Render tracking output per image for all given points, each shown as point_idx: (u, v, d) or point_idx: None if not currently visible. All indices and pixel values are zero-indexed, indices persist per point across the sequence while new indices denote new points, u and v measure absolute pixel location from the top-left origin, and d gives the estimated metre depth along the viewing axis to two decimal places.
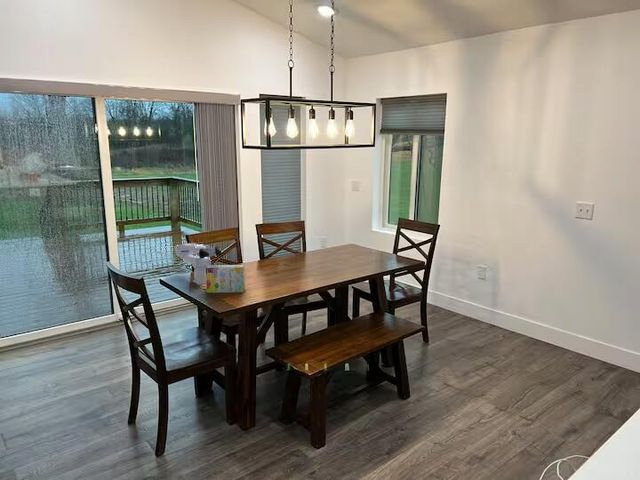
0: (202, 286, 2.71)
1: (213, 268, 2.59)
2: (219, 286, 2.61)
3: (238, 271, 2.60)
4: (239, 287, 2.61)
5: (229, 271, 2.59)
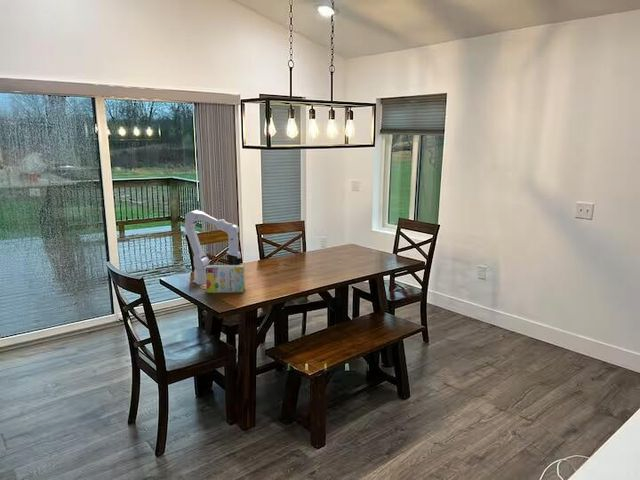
0: (202, 286, 2.71)
1: (213, 268, 2.59)
2: (219, 286, 2.61)
3: (238, 271, 2.60)
4: (239, 287, 2.61)
5: (229, 271, 2.59)
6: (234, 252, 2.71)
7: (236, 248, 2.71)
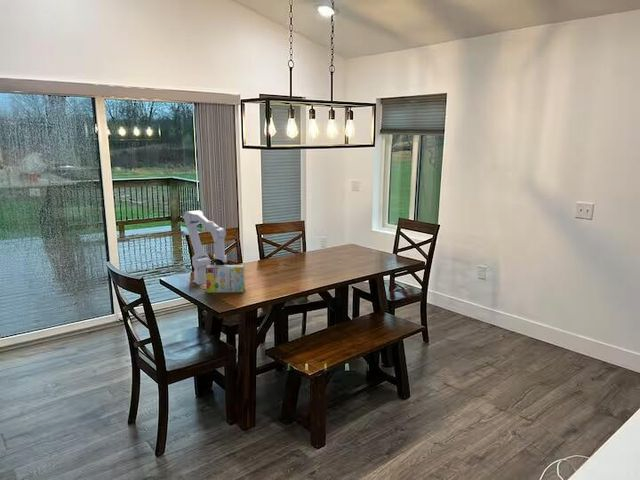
0: (202, 286, 2.71)
1: (213, 268, 2.59)
2: (219, 286, 2.61)
3: (238, 271, 2.60)
4: (239, 287, 2.61)
5: (229, 271, 2.59)
6: (220, 256, 2.63)
7: (222, 252, 2.63)
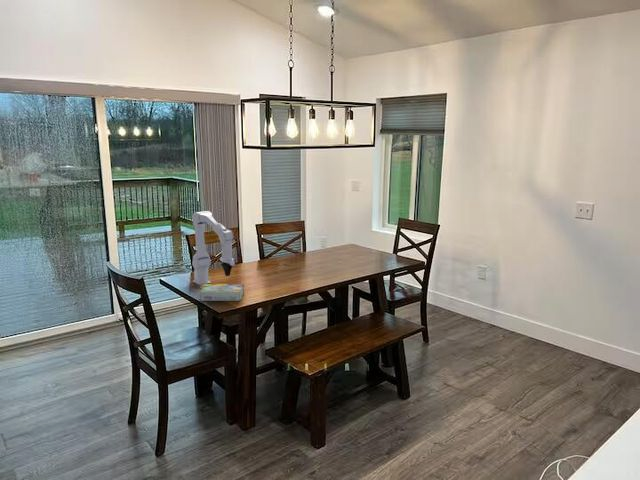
0: (202, 286, 2.71)
1: (209, 300, 2.48)
2: None
3: None
4: None
5: None
6: (227, 259, 2.56)
7: (229, 255, 2.56)
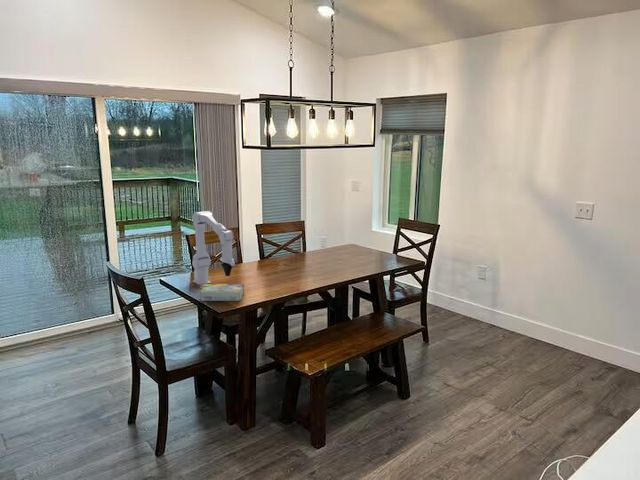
0: (202, 286, 2.71)
1: (209, 300, 2.48)
2: None
3: None
4: None
5: None
6: (228, 259, 2.55)
7: (230, 255, 2.56)
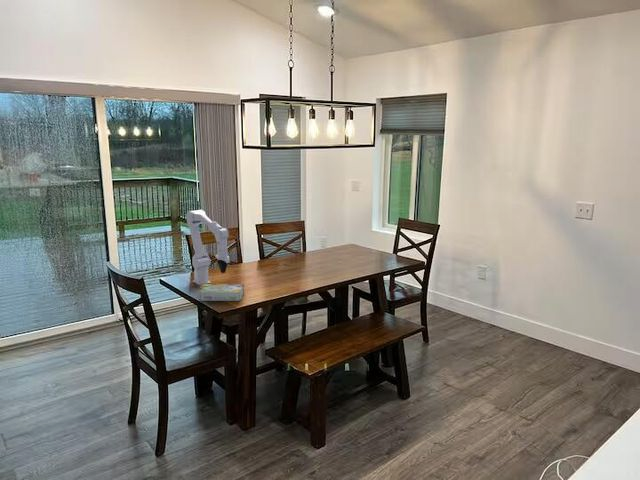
0: (202, 286, 2.71)
1: (209, 300, 2.48)
2: None
3: None
4: None
5: None
6: (223, 257, 2.62)
7: (225, 252, 2.62)
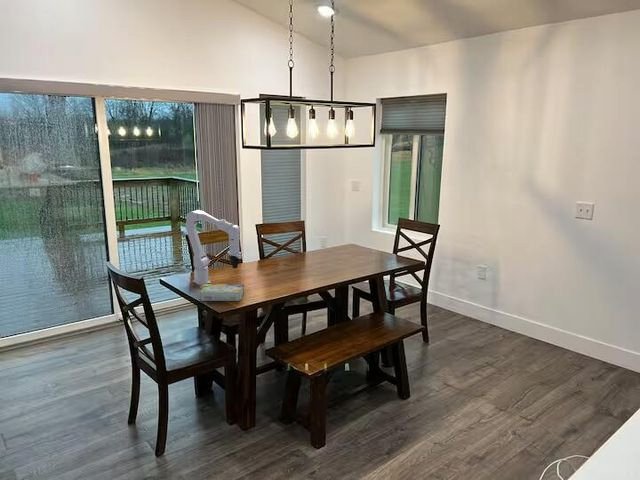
0: (202, 286, 2.71)
1: (209, 300, 2.48)
2: None
3: None
4: None
5: None
6: (235, 252, 2.70)
7: (237, 248, 2.70)
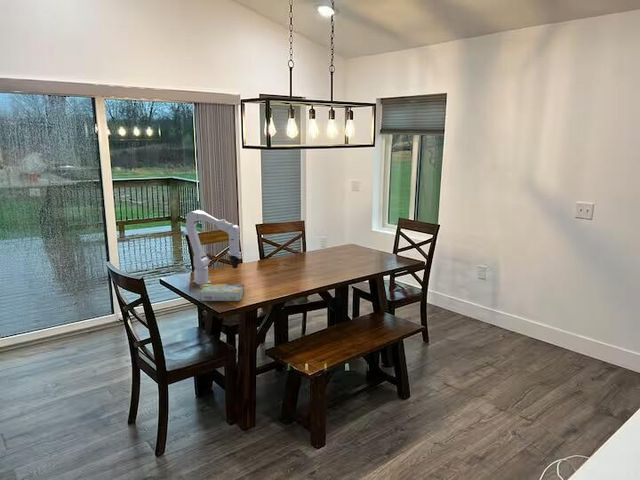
0: (202, 286, 2.71)
1: (209, 300, 2.48)
2: None
3: None
4: None
5: None
6: (235, 252, 2.70)
7: (237, 248, 2.70)
